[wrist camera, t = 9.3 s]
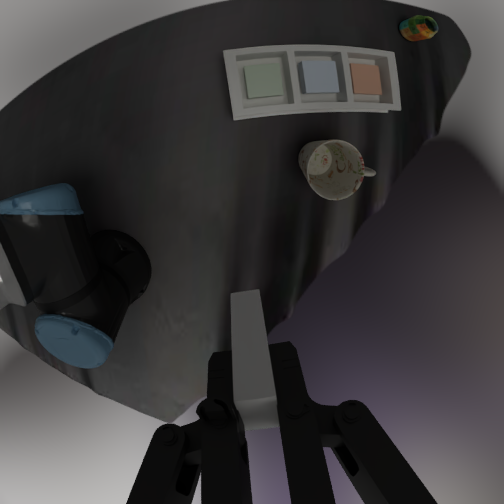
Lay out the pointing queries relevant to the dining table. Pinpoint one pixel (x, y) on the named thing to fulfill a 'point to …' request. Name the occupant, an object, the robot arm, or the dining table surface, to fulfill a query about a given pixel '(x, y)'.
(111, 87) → the dining table surface
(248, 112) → the three-slot tray
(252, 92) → the key
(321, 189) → the mug
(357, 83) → the key
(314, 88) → the key
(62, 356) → the robot arm
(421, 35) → the jar
